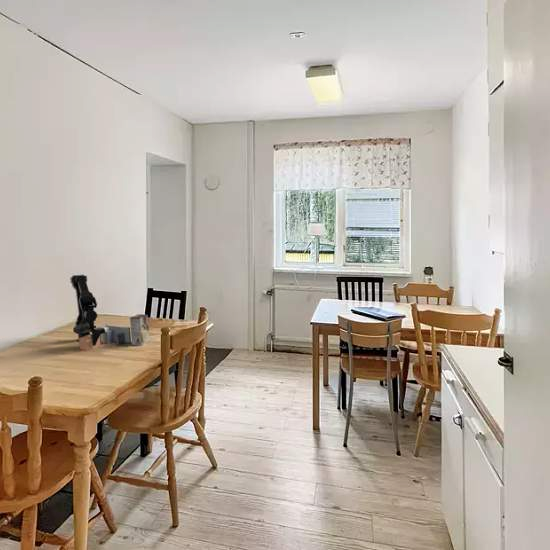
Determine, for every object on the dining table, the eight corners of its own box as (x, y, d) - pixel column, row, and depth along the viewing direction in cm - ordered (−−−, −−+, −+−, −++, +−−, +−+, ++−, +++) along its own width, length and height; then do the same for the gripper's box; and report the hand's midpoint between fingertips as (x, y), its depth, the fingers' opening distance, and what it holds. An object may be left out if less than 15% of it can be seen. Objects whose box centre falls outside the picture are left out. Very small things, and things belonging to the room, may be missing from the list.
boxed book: (79, 349, 228) (79, 337, 227) (94, 344, 237) (93, 333, 236) (85, 350, 226) (85, 338, 225) (100, 345, 235) (99, 334, 234)
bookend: (116, 344, 236) (115, 334, 235) (123, 342, 240) (122, 332, 239) (122, 345, 234) (122, 335, 233) (129, 343, 238) (128, 333, 237)
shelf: (98, 342, 241) (96, 327, 240) (106, 339, 247) (105, 324, 246) (122, 345, 233) (121, 330, 232) (131, 342, 239) (130, 327, 238)
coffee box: (139, 340, 243) (138, 314, 241) (149, 341, 242) (148, 314, 240) (131, 345, 234) (129, 317, 232) (141, 345, 233) (140, 317, 231)
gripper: (63, 319, 226) (65, 347, 228) (88, 322, 218) (90, 350, 220) (80, 315, 236) (82, 341, 238) (105, 317, 228) (106, 345, 230)
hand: (90, 345), depth 231 cm, fingers open, 6 cm apart
